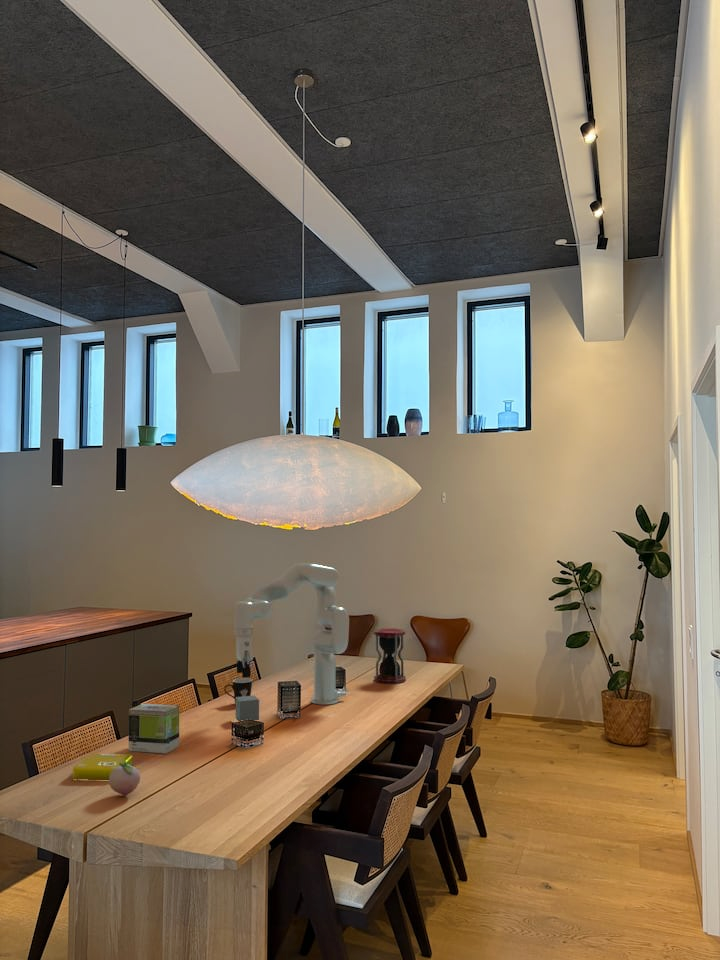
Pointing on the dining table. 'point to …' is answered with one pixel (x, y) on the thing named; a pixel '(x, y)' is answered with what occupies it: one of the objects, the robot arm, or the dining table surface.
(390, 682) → the hourglass
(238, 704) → the grey block
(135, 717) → the tea box
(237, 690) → the coffee mug
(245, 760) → the dining table surface
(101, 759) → the element tile
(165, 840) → the dining table surface
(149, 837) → the dining table surface
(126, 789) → the decorative fruit
